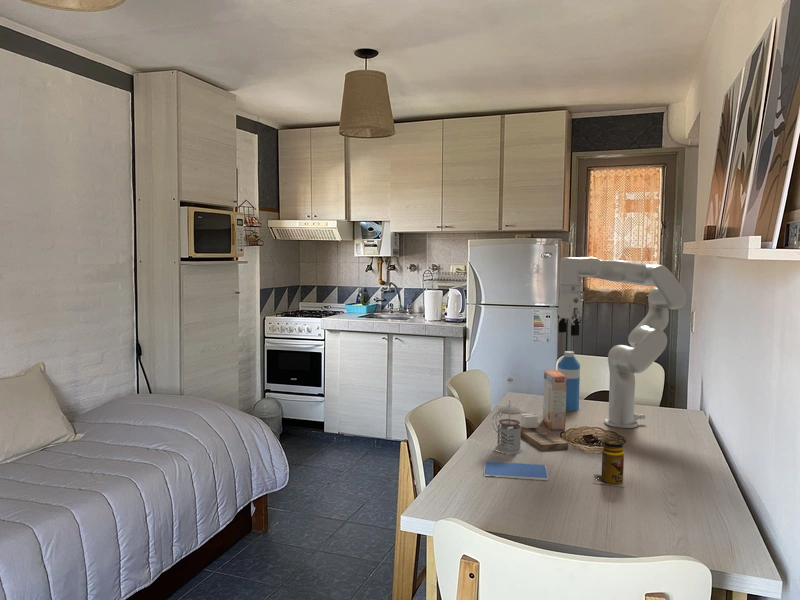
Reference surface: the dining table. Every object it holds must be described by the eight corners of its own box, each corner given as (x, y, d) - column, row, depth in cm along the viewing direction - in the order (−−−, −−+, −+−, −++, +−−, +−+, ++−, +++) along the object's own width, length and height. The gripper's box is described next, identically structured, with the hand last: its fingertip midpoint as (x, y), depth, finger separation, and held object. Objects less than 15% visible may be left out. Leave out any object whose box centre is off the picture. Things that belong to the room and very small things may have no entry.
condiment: (624, 487, 171) (626, 446, 170) (594, 483, 174) (595, 443, 173) (623, 478, 178) (624, 439, 177) (593, 475, 180) (594, 436, 180)
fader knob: (533, 424, 227) (533, 413, 226) (537, 427, 223) (538, 415, 223) (520, 425, 226) (521, 413, 225) (525, 428, 222) (525, 416, 222)
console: (537, 429, 229) (537, 423, 229) (568, 448, 206) (568, 442, 205) (513, 430, 227) (513, 425, 227) (541, 450, 203) (541, 444, 203)
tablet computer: (482, 478, 179) (483, 474, 179) (484, 464, 191) (484, 460, 191) (549, 483, 175) (549, 478, 175) (546, 468, 188) (546, 464, 188)
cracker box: (566, 430, 228) (567, 376, 226) (550, 430, 228) (551, 376, 226) (557, 420, 242) (558, 369, 240) (542, 420, 242) (543, 369, 240)
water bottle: (557, 410, 258) (559, 353, 257) (556, 405, 268) (557, 349, 266) (580, 411, 257) (581, 353, 255) (577, 406, 266) (578, 350, 264)
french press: (511, 456, 197) (512, 381, 196) (484, 447, 206) (485, 376, 204) (529, 450, 204) (530, 378, 202) (502, 442, 212) (503, 373, 211)
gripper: (590, 290, 220) (589, 336, 222) (567, 288, 237) (566, 331, 238) (572, 290, 219) (570, 337, 220) (550, 288, 236) (549, 331, 237)
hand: (568, 333), depth 229 cm, fingers open, 9 cm apart
